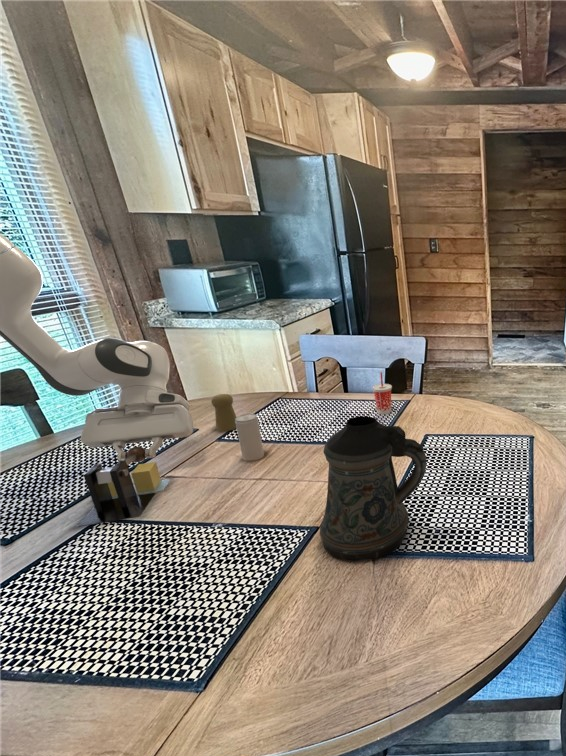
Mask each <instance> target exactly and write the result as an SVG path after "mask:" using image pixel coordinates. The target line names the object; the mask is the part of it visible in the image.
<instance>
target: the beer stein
mask: <svg viewBox="0 0 566 756" xmlns="http://www.w3.org/2000/svg"><path fill="white" fill-rule="evenodd" d="M323 454H324V457H325V460H326V461H327V462H328V474H327V493H326V501H325V502H326V503H325V504H326V505H325V510H324V514H323V518H322V519H321V523H320V527H319V536H320V539H321V541H322V545H323V548H324V550H325V551H326V552H328V554H330V555H331V556H332V557H334V558H336V559H338V560H343V561H348V562H361V561H366V560H371V562H375V561H377V560H379V559H382V558H384V557H387V556H389V555H390V554H391V553H393V552H394V551H395V550H397V549H398V548H399V547H400V546H401V545H402V543H403V541H404V539H405V537H406V535H407V531H408V525H409V518H410V517H409V512H408V510H407V508H406V505H405V504H404V503H403V502H405V501H406V499H407V498H409V497H410V496H411V495H412V494H413V493H414V492H415V490H416V489H417V488H418V487H419V486H420V484H421V482H422V481H423V479H424V477H425V474H426V469H427V461H428V460H427V455H426V452H425V450H424V446H423V445H422V444H421V443H419V442H418V441H417V440H415V439H413V438H412V439H411V438H406V432H405V430H403V428H402V427H401V426H399V425H385V424H382V423H380V422H379V421H378V420H377V419H376V418H375V417H372V416H367V415H366V416H365V415H363V416H361V415H360V416H359V415H357V416H353V417H351V418H348V419H347V420H346V423H345V426H343V427H342V428H341V429H340V430H338V431H336V432H335V433H334V434H333V435H331V437H329V438H328V440H327V441H326V442H325V444H324V447H323ZM393 457H395V458H401V457H408V458H410V459H411V460H412V462H413V464H414V466H413V469H412V470H411V474H410V475H409V476H408V477H407V479H405V481H403V482H402V484H401V485H400V487H399V486H398V483H397V476H396V472H395V471H396V470H395V468H394V463H393Z"/></svg>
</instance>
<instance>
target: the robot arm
mask: <svg viewBox="0 0 566 756" xmlns="http://www.w3.org/2000/svg"><path fill="white" fill-rule="evenodd" d="M43 284H44V278H43V273H42V271H41V270H40V268H39V267H38V265H37V264H36V263H35V262H34V260H32V258H31V257H29V256H28V255H27V254H26V253H25V252H24V251H23V250H21V249H20V248H19V247H18V246H16V245H15V244H14V243H13V242H11V240H9V239H8V238H7V237H6V236H4V235H3V234H2V233H0V337H1V338H3V339H4V340H5V341H6V342H7V343H8V344H9V345H10V346H12V347H13V348H14V349H15V350H16V351H17V352H18V353H19V354H20V355H21V356H22V357H24V358H25V359H26V360H27V361H28V362H29V363H30V364H31V365H32V366H33V367H34V368H35V369H36V370H37V371H38V373H39V374H40V375H41V377H42V378H43V379H44V381H45V383H47V385H48V386H50V387H51V388H52V389H54V390H55V391H58V393H61V394H64V395H68V396H74V397H75V396H79V397H80V396H85V395H87V394H90V393H92V392H94V391H96V390H98V389H101V388H102V387H106V386H109V385H111V384H115V385H118V386H119V393H118V401H117V406H110V407H99V408H95V409H94V410H91V411H90V412H88V413H87V414H86V416H85V420H84V426H83V428H82V432H81V434H80V442H81V443H82V444H83V445H85V446H86V447H88V448H91V449H94V448H102V447H111V446H112V448H113V449H114V450H115V451H116V453H117V462H119V461H123V460H124V459H126V458H127V457H126V454H127V452H128V451H124V450H123V449H125V448H126V445H128V444H135V443H136V444H138V443H144V442H152V444H151V446H150V447H149V448H145V457H146V458H145V459H154V458H156V457H157V451H158V450H159V449H160V447H162V445H163V443H164V440H171V439H179V438H187V437H188V438H189V437H190V436H191V435H192V434H193V433H194V419H193V415H192V412H190V409H191V406H190V404H189V402H188V400H186V399H185V398H184V397H183V396H182V395H180V394H177V393H171V392H168V389H167V384H168V382H169V379H170V359H169V355H168V353H167V352H168V351H167V350H166V349H165V348H164V347H163V346H162V345H160V344H158V343H156V342H153V341H149V340H137V341H132V342H131V341H126V340H123V339H120V338H117V337H107V338H103V339H99V340H97V341H94V342H93V341H92V342H91V343H87V344H85V345H84V346H81V347H78V348H76V349H75V348H74V349H73V350H72V349H68V348H65V347H63V346H62V345H60V343H58V341H56V340H55V339H54V338H53V337H52V336H51V335H50V334H49V333H48V332H47V331H46V330H45V329H44V328H43V327H42V326H41V325H40V324H39V323H38V322H37V321H36V320H35V318H34V317H33V314H32V306H33V304H34V302H35V301H36V299H37V298H38V297H39V295H40V293H41V292H42V288H43Z"/></svg>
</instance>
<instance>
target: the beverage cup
mask: <svg viewBox="0 0 566 756" xmlns="http://www.w3.org/2000/svg"><path fill="white" fill-rule="evenodd" d="M392 389H393V385H392V384H389V383H384V381H383V372H382V371H381V372H380V383H377V384H375V385H373V386H372V391H373V395H374V401H375V407H376V413H377V414H378V415H388V414H390V413H391V412H392Z"/></svg>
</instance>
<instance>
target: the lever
mask: <svg viewBox="0 0 566 756" xmlns="http://www.w3.org/2000/svg"><path fill="white" fill-rule="evenodd" d="M145 449H146V448H145V447H143V446H133V447H131V448H129V449H128V450H127V451H126V452H127V454H126V457H127V458H126V459H124V460H126V463H127V466H128V465H130V464H132V463H140V462H143V461H145V459H147V458H146V457H145ZM113 467H114V466H109V467H102V468H103V469H101V470H100V471H98V472H97V473H96V476H97V480H98V484H103V483H110V482H113V480H112V477H111V474H110V471H111V470H112V469H113Z"/></svg>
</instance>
